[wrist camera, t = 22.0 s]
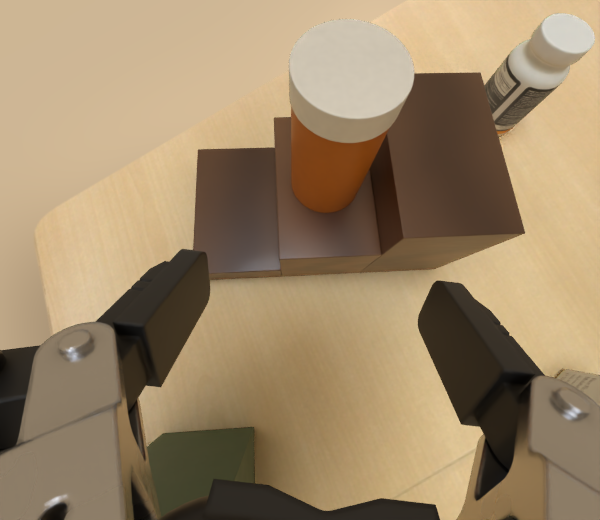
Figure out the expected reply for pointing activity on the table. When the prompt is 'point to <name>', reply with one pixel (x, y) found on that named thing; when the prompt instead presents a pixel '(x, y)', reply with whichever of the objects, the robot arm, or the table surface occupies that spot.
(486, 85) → the pill bottle
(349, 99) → the amber bottle
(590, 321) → the table surface
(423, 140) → the riser
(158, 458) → the stand
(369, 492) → the table surface
